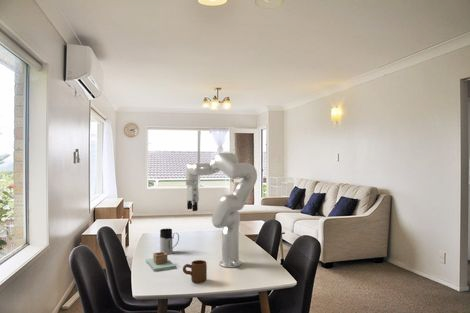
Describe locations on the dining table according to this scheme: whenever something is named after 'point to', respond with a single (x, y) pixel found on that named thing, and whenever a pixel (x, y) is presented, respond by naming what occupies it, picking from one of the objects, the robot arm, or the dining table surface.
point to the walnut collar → (160, 258)
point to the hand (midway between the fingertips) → (192, 209)
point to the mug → (197, 271)
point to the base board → (160, 265)
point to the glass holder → (166, 241)
